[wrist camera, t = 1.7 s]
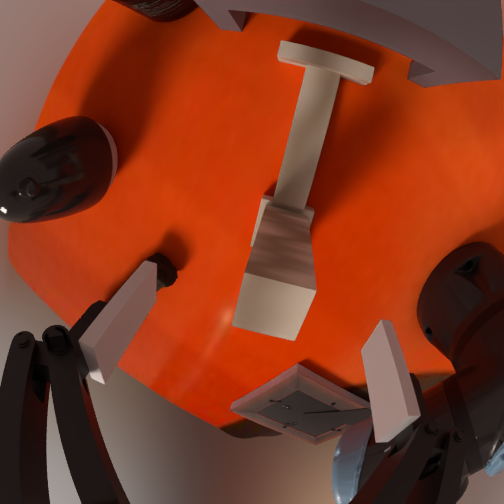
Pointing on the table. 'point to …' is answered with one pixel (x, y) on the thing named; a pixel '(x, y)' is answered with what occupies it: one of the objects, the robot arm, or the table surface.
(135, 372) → the table surface
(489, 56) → the grey step stool
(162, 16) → the supplement bottle
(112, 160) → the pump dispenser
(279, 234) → the ash-wood pusher
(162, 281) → the hand tool
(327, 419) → the picture frame
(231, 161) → the table surface
